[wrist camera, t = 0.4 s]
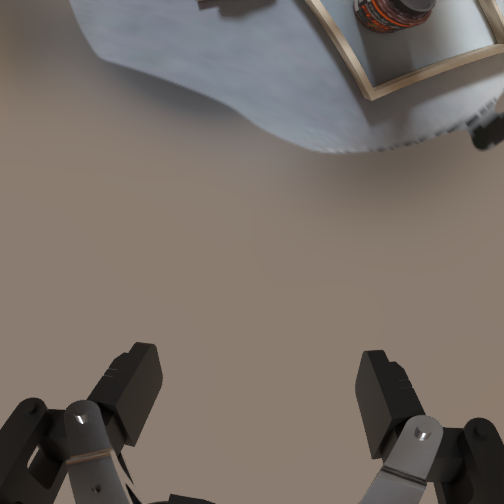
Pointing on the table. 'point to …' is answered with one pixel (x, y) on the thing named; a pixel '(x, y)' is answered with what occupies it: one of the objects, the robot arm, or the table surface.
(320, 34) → the table surface
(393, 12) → the supplement bottle
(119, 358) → the robot arm
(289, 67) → the table surface
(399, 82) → the wooden frame
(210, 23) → the table surface
